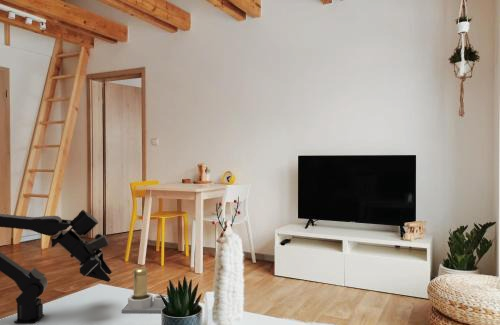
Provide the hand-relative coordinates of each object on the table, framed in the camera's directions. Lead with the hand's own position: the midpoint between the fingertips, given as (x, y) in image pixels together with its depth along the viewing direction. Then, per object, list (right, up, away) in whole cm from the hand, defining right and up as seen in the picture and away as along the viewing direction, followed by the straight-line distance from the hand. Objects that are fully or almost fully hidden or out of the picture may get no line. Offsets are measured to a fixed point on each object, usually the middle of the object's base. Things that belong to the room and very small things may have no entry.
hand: (110, 276), depth 142 cm
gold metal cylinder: (+9, -10, +3) cm, 14 cm away
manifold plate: (+12, -12, +3) cm, 17 cm away
